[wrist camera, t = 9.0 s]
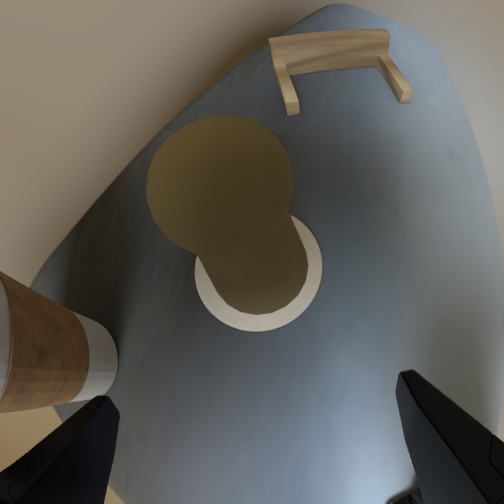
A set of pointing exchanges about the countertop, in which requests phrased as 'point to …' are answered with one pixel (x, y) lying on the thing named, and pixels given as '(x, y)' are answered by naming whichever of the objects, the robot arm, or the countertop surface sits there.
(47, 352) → the coffee cup
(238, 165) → the cork
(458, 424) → the robot arm
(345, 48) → the holder
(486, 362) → the countertop surface
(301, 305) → the saucer
